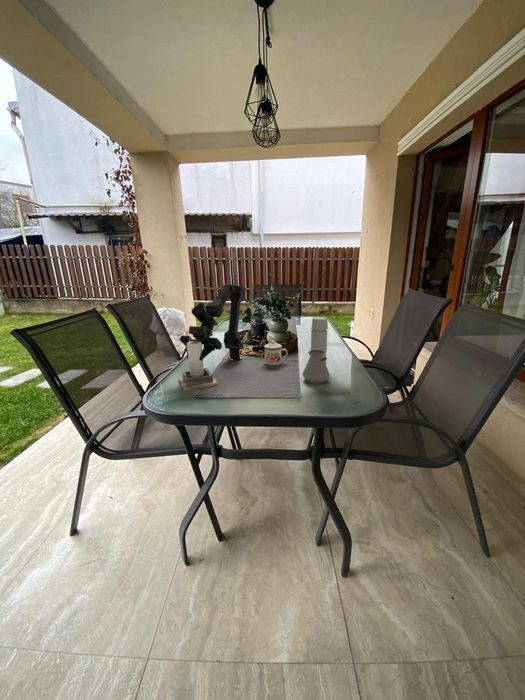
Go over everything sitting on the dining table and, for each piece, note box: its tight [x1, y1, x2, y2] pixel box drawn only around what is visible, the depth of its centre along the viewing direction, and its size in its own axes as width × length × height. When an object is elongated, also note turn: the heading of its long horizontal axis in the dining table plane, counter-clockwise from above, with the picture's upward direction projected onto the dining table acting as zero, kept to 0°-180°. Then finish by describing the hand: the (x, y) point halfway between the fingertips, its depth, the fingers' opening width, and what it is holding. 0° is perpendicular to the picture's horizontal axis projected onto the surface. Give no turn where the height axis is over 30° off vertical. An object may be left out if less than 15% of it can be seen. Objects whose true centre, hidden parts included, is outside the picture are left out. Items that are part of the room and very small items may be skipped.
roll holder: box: [178, 367, 219, 392], centre depth 125 cm, size 14×14×4 cm
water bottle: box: [310, 316, 329, 365], centre depth 133 cm, size 9×8×25 cm
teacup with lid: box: [263, 340, 289, 366], centre depth 147 cm, size 12×9×12 cm
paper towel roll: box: [186, 341, 204, 377], centre depth 123 cm, size 6×6×14 cm
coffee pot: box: [302, 349, 330, 385], centre depth 118 cm, size 21×12×15 cm, turn 3°
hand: (193, 359), depth 121 cm, fingers closed on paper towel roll, 6 cm apart
